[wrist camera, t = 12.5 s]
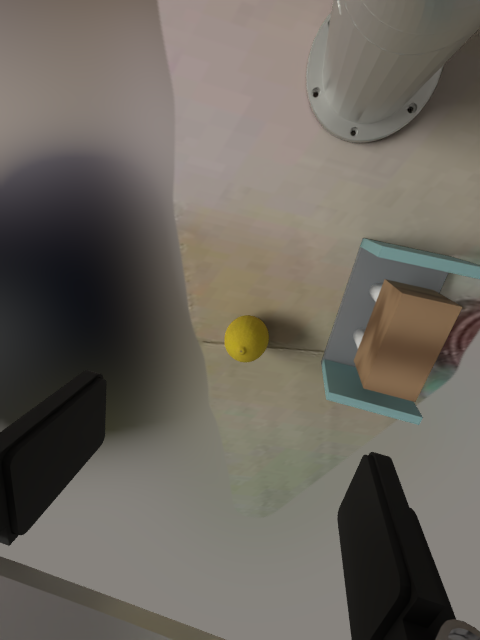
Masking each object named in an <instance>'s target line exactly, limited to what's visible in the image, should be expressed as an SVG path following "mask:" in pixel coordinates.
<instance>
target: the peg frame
mask: <svg viewBox="0 0 480 640" xmlns="http://www.w3.org/2000/svg"><path fill="white" fill-rule="evenodd" d="M448 273H454V274H458V275H463V276H468V277H472V278H477V279H480V265H477V264H474V263H471V262H467V261H464V260H461V259H457V258H454V257H450V256H446V255H441V254H436V253H432V252H427V251H422V250H418V249H413V248H408V247H403V246H399V245H394V244H389V243H385V242H380V241H375V240H370V239H366V238H363V239H362V242H361V245H360V248H359V251H358V254H357V257H356V260H355V263H354V266H353V269H352V272H351V275H350V278H349V281H348V284H347V287H346V290H345V293H344V296H343V299H342V302H341V305H340V307H339V310H338V313H337V316H336V319H335V322H334V325H333V328H332V331H331V334H330V337H329V340H328V343H327V346H326V349H325V352H324V355H323V358H322V361H321V364H322V372H323V379H324V386H325V394H326V400H330V401H333V402H337V403H341V404H344V405H348V406H352V407H355V408H359V409H363V410H366V411H370V412H374V413H377V414H381V415H385V416H388V417H392V418H396V419H399V420H403V421H406V422H410V423H414V424H418V425H419V424H420V422H421V420H422V418H423V417H422V415H421V414H420V412H419V410H418V408H417V407H416V405H415V403H414V402H413V401H409V400H405V399H402V398H398V397H394V396H390V395H387V394H383V393H379V392H375V391H371V390H368V389H364V388H363V386H362V383H361V380H360V377H359V374H358V371H357V369H356V366H355V363H354V358H355V356H356V353H357V351H358V348H359V345H360V343H361V340H362V337H363V335H364V332H365V329H366V327H367V324H368V322H369V319H370V316H371V314H372V311H373V308H374V306H375V303H376V301H377V298H378V295H379V293H380V290H381V287H382V285H383V282H384V279H386V280H391V281H395V282H400V283H404V284H409V285H413V286H418V287H422V288H427V289H431V290H434V291H436V292H438V293H440V290H441V288H442V286H443V284H444V282H445V280H446V277H447V275H448Z"/></svg>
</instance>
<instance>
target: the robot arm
mask: <svg viewBox="0 0 480 640" xmlns="http://www.w3.org/2000/svg"><path fill="white" fill-rule="evenodd" d="M479 28H480V0H333V4H332V11H331V13H330V14H329V15H328V16H327V18H326V19H325V21H324V22H323V24H322V25H321V27H320V29H319V31H318V33H317V35H316V37H315V39H314V41H313V44H312V47H311V51H310V54H309V57H308V64H307V71H306V87H307V96H308V100H309V103H310V107H311V109H312V111H313V113H314V115H315V117H316V119H317V121H318V122H319V123H320V124H321V126H322V127H323V128H324V129H325V130H326V131H328V132H329V133H330V134H331V135H333V136H335V137H337V138H339V139H341V140H344V141H348V142H352V143H367V142H372V141H377V140H380V139H382V138H385V137H388V136H390V135H392V134H393V133H395V132H396V131H398V130H400V129H401V128H403V127H404V126H405V125H406V124H408V123H409V122H410V121H411V120H412V119H413V118H414V117H415V116H416V115H417V114H418V113H419V112H420V111H421V110H422V108H423V107H424V106H425V104H426V103H427V102H428V100H429V99H430V97H431V95H432V93H433V91H434V90H435V88H436V86H437V84H438V81H439V78H440V75H441V73H442V70H443V65H444V64H445V63H446V62H447V61H448V60H449V59H450V58H451V57H452V56H453V55H454V54H455V53H456V52H457V51H458V50H459V49H460V48H461V47H462V45H463V44H464V43H465V42H466V41H467V40H468V39H469V38H470V37H471V36H472V35H473V34H474V33H475V32H476V31H477V30H478V29H479ZM314 93H318V97H316V98H315V97H314V96H313V95H314ZM408 108H411V110H412V112H411V113H408V111H407V109H408ZM352 131H354V132H355V135H354V136H352V135H351V132H352ZM105 411H106V380H104V379H103V376H102V375H101V374H98V373H95V372H91V371H88V370H86V371H83V372H82V373H81V374H79V375H78V376H76V377H75V378H74V379H72V380H71V381H70V382H68V383H67V384H66V385H64V386H63V387H61V388H60V389H59V390H58V391H56V392H55V393H53V394H52V395H51V396H49V397H48V398H46V399H45V400H44V401H43V402H41V403H40V404H38V405H37V406H36V407H34V408H33V409H32V410H30V411H29V412H27V413H26V414H25V415H23V416H22V417H21V418H19V419H18V420H17V421H15V422H14V423H12V424H11V425H10V426H8V427H7V428H6V429H4V430H3V431H2V432H0V543H3V544H6V545H11V543H12V542H13V541H14V540H15V539H16V538H17V537H18V535H23V534H25V533H26V532H27V531H28V530H29V529H30V528H31V527H32V526H33V524H34V523H35V522H36V521H37V520H38V518H39V517H40V516H41V515H42V514H43V513H44V511H45V510H46V509H47V508H48V507H49V506H50V504H51V503H52V502H53V501H54V500H55V499H56V497H57V496H58V495H59V494H60V493H61V492H62V490H63V489H64V488H65V487H66V486H67V485H68V483H69V482H70V481H71V480H72V479H73V478H74V476H75V475H76V474H77V473H78V472H79V470H80V469H81V468H82V467H83V466H84V465H85V463H86V462H87V461H88V460H89V459H90V458H91V457H92V455H93V454H94V453H95V452H96V451H97V450H98V448H99V447H100V446H101V445H102V443H103V441H104V437H105V414H106V413H105ZM338 528H339V536H340V545H341V553H342V561H343V569H344V578H345V587H346V595H347V604H348V612H349V620H350V629H351V637H352V640H480V631H478V630H477V629H476V628H475V627H473V626H471V625H469V624H467V623H466V622H464V621H460V620H456V618H455V615H454V612H453V610H452V607H451V605H450V602H449V599H448V597H447V594H446V591H445V589H444V586H443V583H442V581H441V578H440V576H439V573H438V570H437V568H436V565H435V562H434V560H433V557H432V555H431V552H430V549H429V547H428V544H427V541H426V539H425V537H424V534H423V531H422V528H421V526H420V523H419V520H418V518H417V516H416V514H415V512H414V511H413V510H412V508H409V505H408V503H407V500H406V497H405V495H404V492H403V489H402V486H401V484H400V481H399V478H398V475H397V473H396V470H395V467H394V465H393V462H392V459H391V458H390V457H388V456H384V455H381V454H378V453H374V452H371V453H370V454H369V455H364V456H363V457H362V459H361V462H360V464H359V466H358V468H357V470H356V472H355V475H354V477H353V479H352V481H351V483H350V486H349V488H348V490H347V492H346V494H345V497H344V499H343V501H342V503H341V505H340V508H339V511H338ZM0 640H225V639H223V638H220V637H217V636H215V635H212V634H209V633H207V632H204V631H202V630H199V629H196V628H194V627H191V626H188V625H185V624H183V623H180V622H177V621H175V620H172V619H169V618H167V617H164V616H161V615H159V614H156V613H153V612H150V611H148V610H145V609H143V608H140V607H137V606H135V605H132V604H129V603H127V602H124V601H121V600H119V599H116V598H113V597H111V596H108V595H105V594H102V593H100V592H97V591H94V590H92V589H89V588H86V587H83V586H80V585H78V584H75V583H72V582H70V581H67V580H64V579H61V578H59V577H56V576H53V575H51V574H48V573H45V572H42V571H40V570H37V569H34V568H32V567H29V566H26V565H23V564H21V563H17V562H15V561H12V560H9V559H6V558H3V557H0Z"/></svg>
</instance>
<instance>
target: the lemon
mask: <svg viewBox="0 0 480 640" xmlns="http://www.w3.org/2000/svg"><path fill="white" fill-rule="evenodd" d="M268 341H269V334H268V330H267V327H266V325H265V324H264V323H263V322H262V321H261V320H260V319H259V318H257V317H254V316H250V315H247V316H241V317H238V318H237V319H235V320H234V321H233V322H232V323H231V324H230V325H229V326H228V328H227V330H226V334H225V347H226V350H227V352H228V353H229V355H230V356H231V357H232V358H234V359H235V360H237V361H240V362H251V361H254V360H256V359H257V358H259V357H260V356H261V355H262V354H263V353H264V351H265V350H266V348H267V345H268Z"/></svg>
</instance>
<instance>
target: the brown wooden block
mask: <svg viewBox="0 0 480 640" xmlns="http://www.w3.org/2000/svg"><path fill="white" fill-rule="evenodd" d="M461 309H462V306H460V305H458V304H456V303H455V302H453V301H451V300H450V299H448V298H446V297H445V296H443V295H441V294H440V293H438V292H436V291H434V290H431V289H427V288H422V287H418V286H413V285H409V284H404V283H400V282H395V281H391V280H386V279H384V282H383V285H382V287H381V290H380V293H379V295H378V298H377V301H376V303H375V306H374V308H373V311H372V314H371V316H370V319H369V322H368V324H367V327H366V329H365V332H364V335H363V337H362V340H361V343H360V345H359V348H358V351H357V353H356V356H355V358H354V363H355V366H356V369H357V371H358V374H359V377H360V380H361V383H362V386H363V388H364V389H368V390H371V391H375V392H379V393H383V394H387V395H390V396H394V397H398V398H402V399H405V400H409V401H413V402H416V400H417V398H418V396H419V394H420V392H421V390H422V388H423V386H424V384H425V381H426V379H427V377H428V375H429V373H430V371H431V369H432V367H433V365H434V363H435V361H436V359H437V357H438V355H439V353H440V351H441V349H442V347H443V345H444V343H445V341H446V339H447V337H448V335H449V333H450V331H451V329H452V327H453V325H454V323H455V321H456V319H457V317H458V315H459V313H460V311H461Z"/></svg>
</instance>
